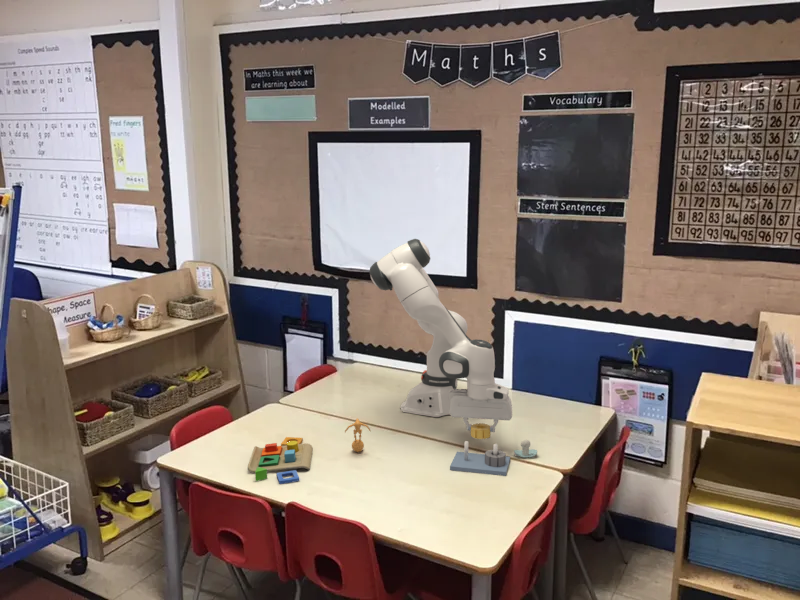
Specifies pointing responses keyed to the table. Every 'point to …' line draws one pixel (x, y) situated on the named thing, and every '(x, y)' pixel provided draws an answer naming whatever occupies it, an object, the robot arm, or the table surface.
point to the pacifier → (525, 450)
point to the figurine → (358, 444)
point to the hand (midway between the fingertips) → (480, 430)
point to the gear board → (481, 461)
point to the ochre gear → (480, 431)
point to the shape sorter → (281, 459)
